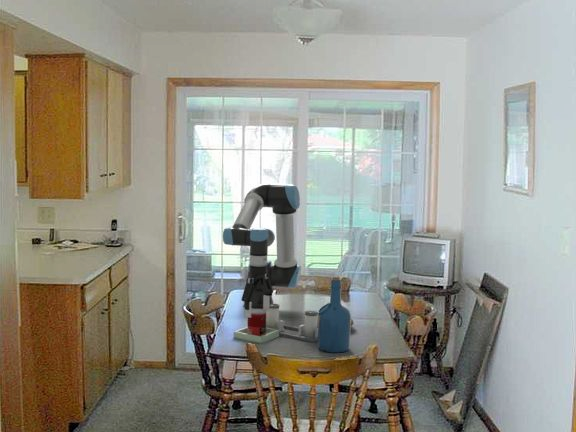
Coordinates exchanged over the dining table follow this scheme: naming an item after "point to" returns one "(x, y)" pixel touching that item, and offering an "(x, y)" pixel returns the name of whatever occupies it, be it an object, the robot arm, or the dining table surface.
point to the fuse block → (300, 330)
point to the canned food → (257, 322)
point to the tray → (243, 335)
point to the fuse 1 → (272, 316)
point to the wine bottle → (334, 322)
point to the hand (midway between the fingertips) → (257, 313)
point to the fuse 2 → (310, 323)
